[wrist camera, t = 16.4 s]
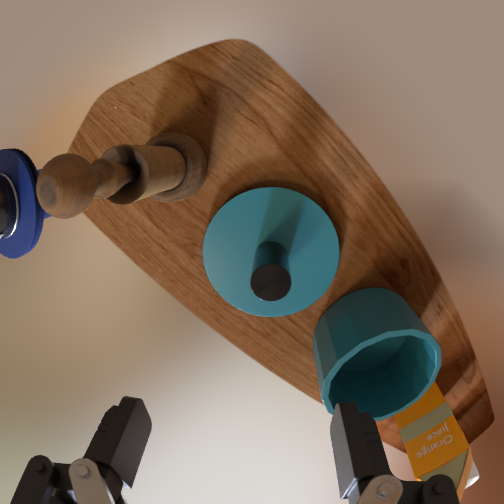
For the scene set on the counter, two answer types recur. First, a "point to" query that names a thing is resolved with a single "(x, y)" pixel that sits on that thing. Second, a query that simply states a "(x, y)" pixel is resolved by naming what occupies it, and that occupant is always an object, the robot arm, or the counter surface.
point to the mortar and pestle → (123, 175)
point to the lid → (271, 251)
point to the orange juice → (435, 440)
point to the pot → (374, 353)
